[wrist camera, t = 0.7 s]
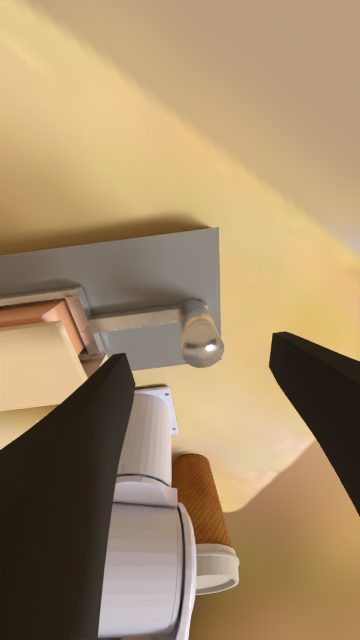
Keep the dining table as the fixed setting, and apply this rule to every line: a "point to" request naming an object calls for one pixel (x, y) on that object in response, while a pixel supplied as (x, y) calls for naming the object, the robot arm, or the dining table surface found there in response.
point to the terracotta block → (43, 317)
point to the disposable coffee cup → (205, 524)
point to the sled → (137, 324)
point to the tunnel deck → (103, 308)
